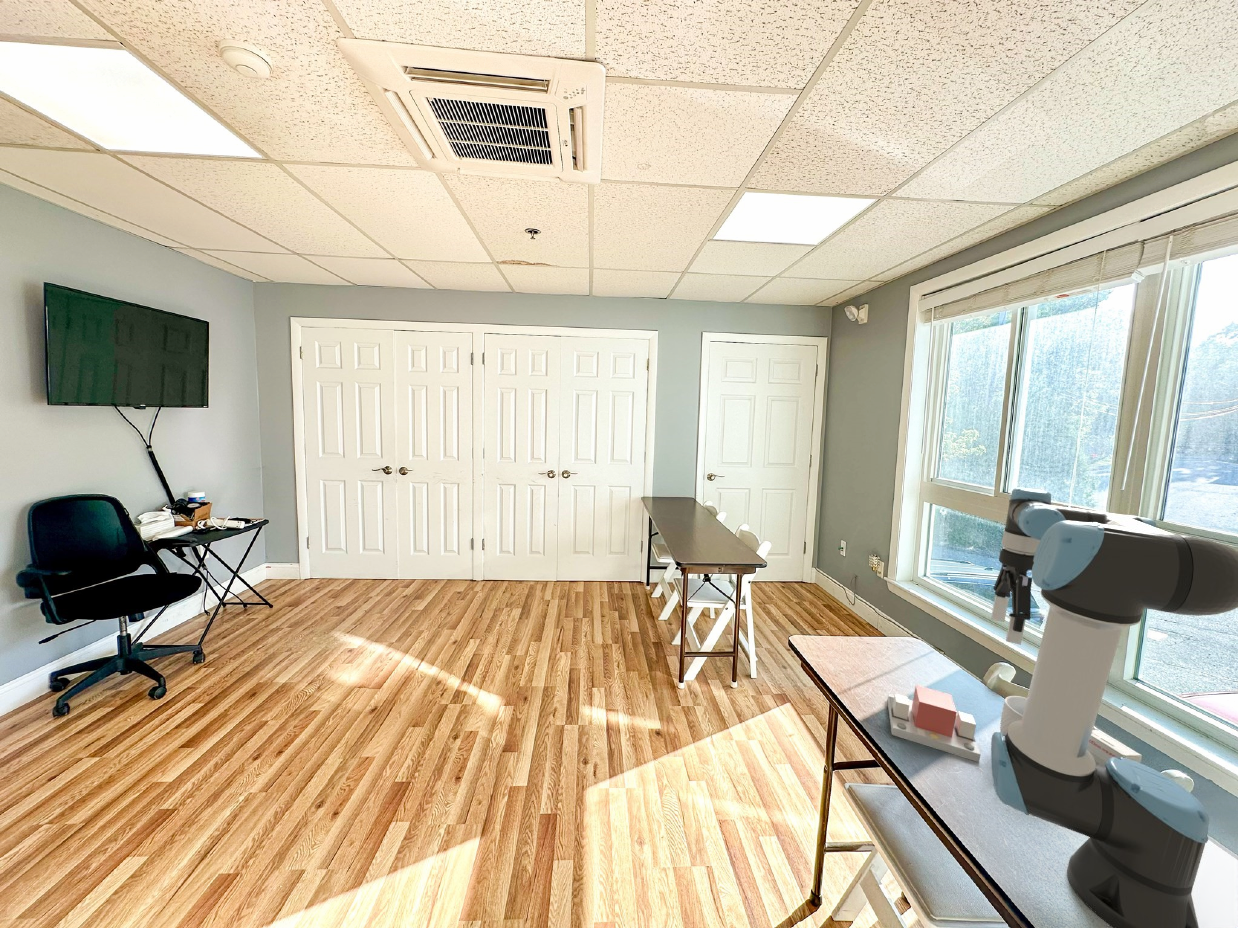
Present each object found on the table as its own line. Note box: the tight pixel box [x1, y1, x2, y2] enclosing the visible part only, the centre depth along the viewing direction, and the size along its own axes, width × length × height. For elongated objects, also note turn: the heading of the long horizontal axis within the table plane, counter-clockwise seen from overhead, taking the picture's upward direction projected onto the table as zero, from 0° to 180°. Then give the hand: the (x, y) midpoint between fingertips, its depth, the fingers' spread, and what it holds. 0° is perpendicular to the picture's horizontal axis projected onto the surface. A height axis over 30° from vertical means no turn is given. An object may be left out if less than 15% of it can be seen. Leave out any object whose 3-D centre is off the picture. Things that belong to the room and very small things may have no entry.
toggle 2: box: [955, 710, 977, 739], centre depth 119 cm, size 4×3×4 cm
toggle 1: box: [893, 693, 910, 720], centre depth 125 cm, size 4×3×4 cm
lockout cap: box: [912, 684, 958, 738], centre depth 122 cm, size 8×8×7 cm
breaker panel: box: [887, 693, 982, 763], centre depth 123 cm, size 16×18×2 cm
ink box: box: [1087, 728, 1143, 766], centre depth 105 cm, size 9×5×12 cm, turn 9°
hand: (1005, 630), depth 122 cm, fingers open, 13 cm apart
